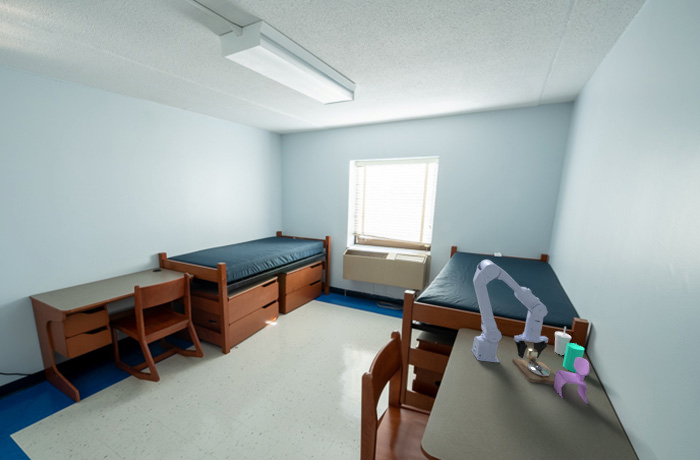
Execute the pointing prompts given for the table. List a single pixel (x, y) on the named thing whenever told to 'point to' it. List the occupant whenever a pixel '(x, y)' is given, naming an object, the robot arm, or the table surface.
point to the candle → (572, 356)
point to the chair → (574, 377)
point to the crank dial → (536, 364)
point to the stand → (532, 377)
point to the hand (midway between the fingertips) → (528, 356)
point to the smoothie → (561, 342)
